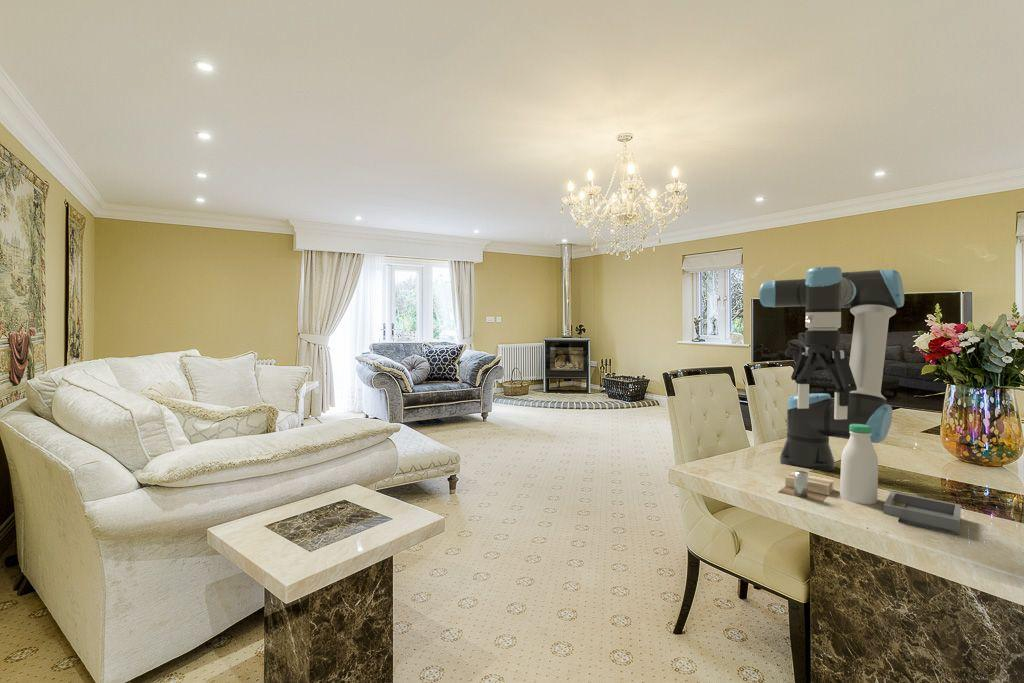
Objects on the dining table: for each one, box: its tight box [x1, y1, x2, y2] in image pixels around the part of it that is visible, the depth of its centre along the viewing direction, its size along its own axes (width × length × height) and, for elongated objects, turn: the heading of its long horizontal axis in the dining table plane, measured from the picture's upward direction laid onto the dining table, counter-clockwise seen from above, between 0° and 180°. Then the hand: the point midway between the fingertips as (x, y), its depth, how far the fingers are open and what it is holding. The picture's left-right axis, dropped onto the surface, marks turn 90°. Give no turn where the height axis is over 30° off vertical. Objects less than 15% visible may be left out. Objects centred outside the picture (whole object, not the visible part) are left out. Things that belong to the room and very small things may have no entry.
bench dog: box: [794, 470, 809, 499], centre depth 125 cm, size 3×3×6 cm
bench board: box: [777, 486, 835, 503], centre depth 129 cm, size 14×10×1 cm
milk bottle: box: [839, 424, 879, 505], centre depth 123 cm, size 8×8×20 cm
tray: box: [882, 491, 962, 536], centre depth 114 cm, size 13×13×3 cm
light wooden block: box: [784, 471, 835, 496], centre depth 131 cm, size 6×10×2 cm, turn 46°
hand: (820, 413), depth 123 cm, fingers open, 13 cm apart
